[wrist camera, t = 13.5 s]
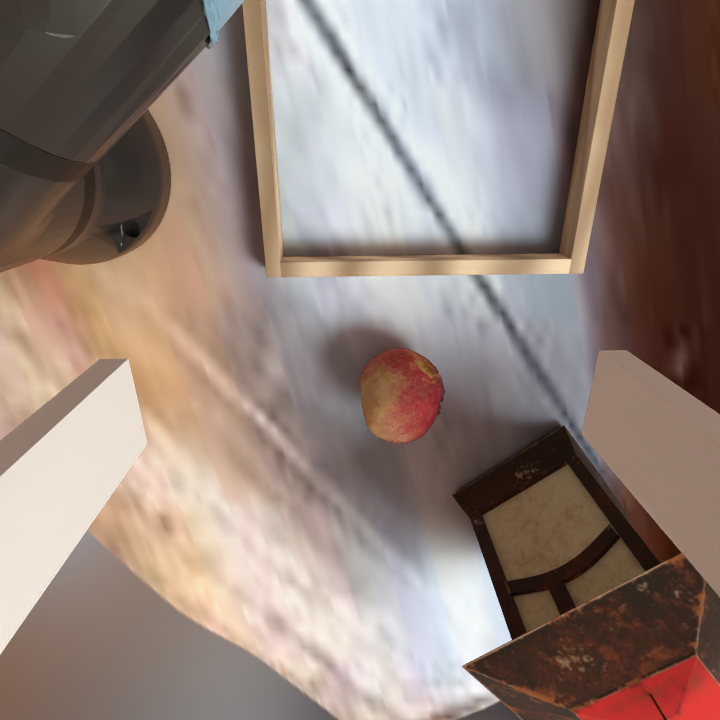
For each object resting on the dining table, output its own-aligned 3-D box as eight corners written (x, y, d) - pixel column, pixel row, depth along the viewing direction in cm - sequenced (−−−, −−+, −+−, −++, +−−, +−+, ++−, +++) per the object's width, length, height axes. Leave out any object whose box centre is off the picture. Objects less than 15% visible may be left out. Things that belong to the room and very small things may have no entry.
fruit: (366, 329, 43) (370, 365, 36) (445, 345, 44) (465, 383, 36) (348, 402, 46) (349, 448, 39) (423, 415, 47) (437, 463, 39)
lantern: (711, 469, 50) (1147, 842, 23) (509, 581, 56) (664, 982, 29) (639, 349, 44) (1113, 659, 17) (421, 488, 50) (511, 884, 23)
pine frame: (271, 270, 40) (266, 277, 38) (242, -76, 31) (233, -95, 29) (569, 266, 41) (583, 273, 39) (629, -75, 32) (652, -93, 29)
